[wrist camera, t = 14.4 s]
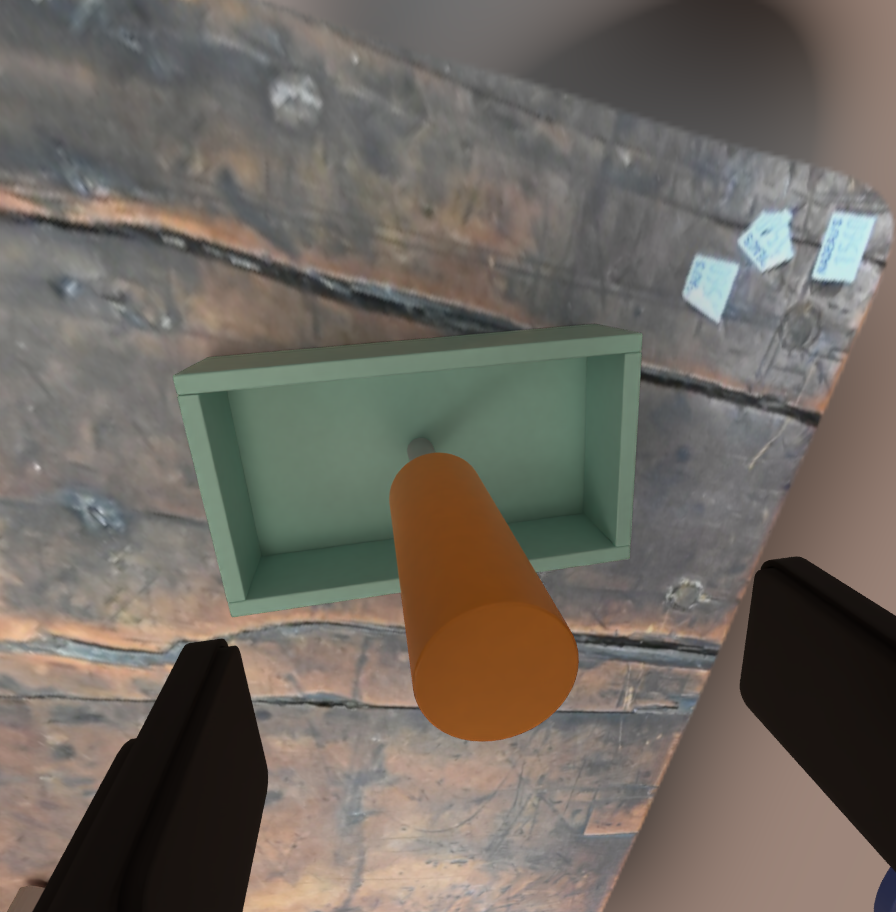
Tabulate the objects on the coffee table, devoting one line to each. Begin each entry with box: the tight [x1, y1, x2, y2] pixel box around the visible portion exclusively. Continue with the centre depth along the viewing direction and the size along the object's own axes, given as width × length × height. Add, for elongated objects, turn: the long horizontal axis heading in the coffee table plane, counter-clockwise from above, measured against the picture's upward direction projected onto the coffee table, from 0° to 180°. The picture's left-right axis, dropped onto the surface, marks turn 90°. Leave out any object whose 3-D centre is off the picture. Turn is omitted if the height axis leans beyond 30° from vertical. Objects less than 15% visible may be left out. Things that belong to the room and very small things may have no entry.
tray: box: [173, 324, 642, 617], centre depth 19 cm, size 8×14×4 cm, turn 94°
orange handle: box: [389, 438, 579, 741], centre depth 14 cm, size 3×3×12 cm
